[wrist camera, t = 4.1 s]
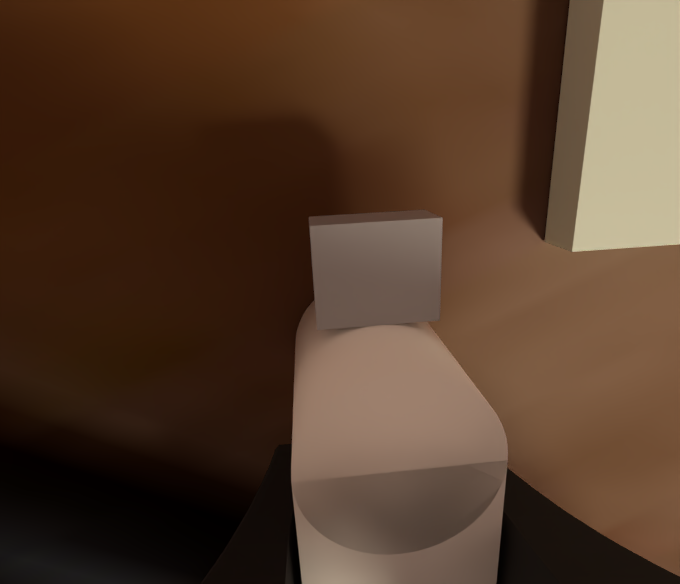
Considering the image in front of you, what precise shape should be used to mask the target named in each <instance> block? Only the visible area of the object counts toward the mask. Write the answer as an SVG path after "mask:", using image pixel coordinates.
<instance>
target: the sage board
mask: <svg viewBox="0 0 680 584" xmlns="http://www.w3.org/2000/svg"><path fill="white" fill-rule="evenodd" d="M545 242H546V243H549V244H552V245H555V246H557V247H560V248H563V249H566V250H569V251H572V252H575V251H589V250H604V249H618V248H632V247H647V246H661V245H675V244H680V0H570V4H569V13H568V23H567V32H566V42H565V51H564V61H563V70H562V80H561V90H560V99H559V109H558V118H557V128H556V137H555V147H554V157H553V166H552V176H551V185H550V195H549V204H548V214H547V224H546V233H545Z"/></svg>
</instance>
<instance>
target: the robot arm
mask: <svg viewBox="0 0 680 584" xmlns="http://www.w3.org/2000/svg"><path fill="white" fill-rule="evenodd" d="M291 457H292V444H285V445H279V446H278V447H277V448H276V449H275V452H274V455H273V458H272V460H271V463H270V465H269V468H268V470H267V472H266V475H265V477H264V479H263V481H262V483H261V485H260V487H259V489H258V491H257V493H256V495H255V497H254V499H253V501H252V503H251V505H250V507H249V509H248V511H247V512H246V514H245V516H244V517H243V519H242V521H241V523H240V524H239V526H238V528H237V529H236V531H235V533H234V534H233V536H232V538H231V539H230V541H229V543H228V544H227V546H226V547H225V549H224V550H223V552H222V553H221V555H220V556H219V558H218V559H217V561H216V562H215V564H214V565H213V567H212V568H211V569H210V571H209V572H208V574H207V575H206V577H205V578H204V579H203V581H202V582H201V583H200V584H302V579H301V569H300V560H299V550H298V541H297V532H296V522H295V513H294V503H293V494H292V484H291ZM496 584H680V577H679V576H677V575H675V574H673V573H671V572H669V571H667V570H665V569H663V568H661V567H659V566H657V565H655V564H653V563H652V562H650V561H648V560H646V559H644V558H643V557H641V556H639V555H637V554H635V553H633V552H632V551H630V550H628V549H626V548H624V547H622V546H621V545H619V544H617V543H615V542H614V541H612V540H610V539H609V538H607V537H605V536H604V535H602V534H600V533H599V532H597V531H596V530H594V529H592V528H591V527H589V526H588V525H586V524H584V523H583V522H581V521H580V520H578V519H576V518H575V517H573V516H572V515H570V514H569V513H567V512H566V511H564V510H563V509H561V508H560V507H559V506H557V505H556V504H554V503H553V502H552V501H550V500H549V499H547V498H546V497H545V496H543V495H542V494H540V493H539V492H538V491H536V490H535V489H534V488H532V487H531V486H530V485H528V484H527V483H526V482H524V481H523V480H522V479H521V478H519V477H518V476H517V475H516V474H514V473H513V472H512V471H511V470H509V469H508V468H507V473H506V484H505V495H504V506H503V517H502V528H501V539H500V550H499V561H498V571H497V582H496Z"/></svg>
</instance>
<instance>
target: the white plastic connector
mask: <svg viewBox="0 0 680 584" xmlns="http://www.w3.org/2000/svg"><path fill="white" fill-rule="evenodd" d="M442 220H443V218H442V217H440V216H438V215H435V214H433V213H431V212H429V211H426V210H409V211H393V212H377V213H361V214H344V215H328V216H312V217H309V230H310V243H311V257H312V271H313V285H314V299H315V300H314V301H313V302H312V303H311V304H310V305H309V307H308V308H307V309H306V311H305V312H304V314H303V316H302V318H301V320H300V322H299V325H298V328H297V332H296V340H295V369H294V399H293V428H292V457H291V484H292V494H293V503H294V513H295V522H296V532H297V541H298V550H299V560H300V569H301V579H302V584H496V582H497V571H498V561H499V550H500V539H501V528H502V517H503V506H504V495H505V484H506V473H507V462H508V446H507V439H506V435H505V432H504V428H503V425H502V423H501V421H500V419H499V418H498V416H497V414H496V413H495V411H494V410H493V409H492V407H491V406H490V404H489V403H488V402H487V401H486V399H485V398H484V397H483V395H482V394H481V393H480V391H479V390H478V389H477V387H476V386H475V385H474V383H473V382H472V381H471V379H470V378H469V377H468V375H467V374H466V373H465V371H464V370H463V369H462V367H461V366H460V365H459V363H458V362H457V361H456V359H455V358H454V357H453V355H452V354H451V353H450V351H449V350H448V349H447V347H446V346H445V345H444V343H443V342H442V341H441V339H440V338H439V337H438V335H437V334H436V333H435V332H434V330H433V329H432V328H431V326H430V325H429V324H428V322H427V321H440V294H441V257H442Z"/></svg>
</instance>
